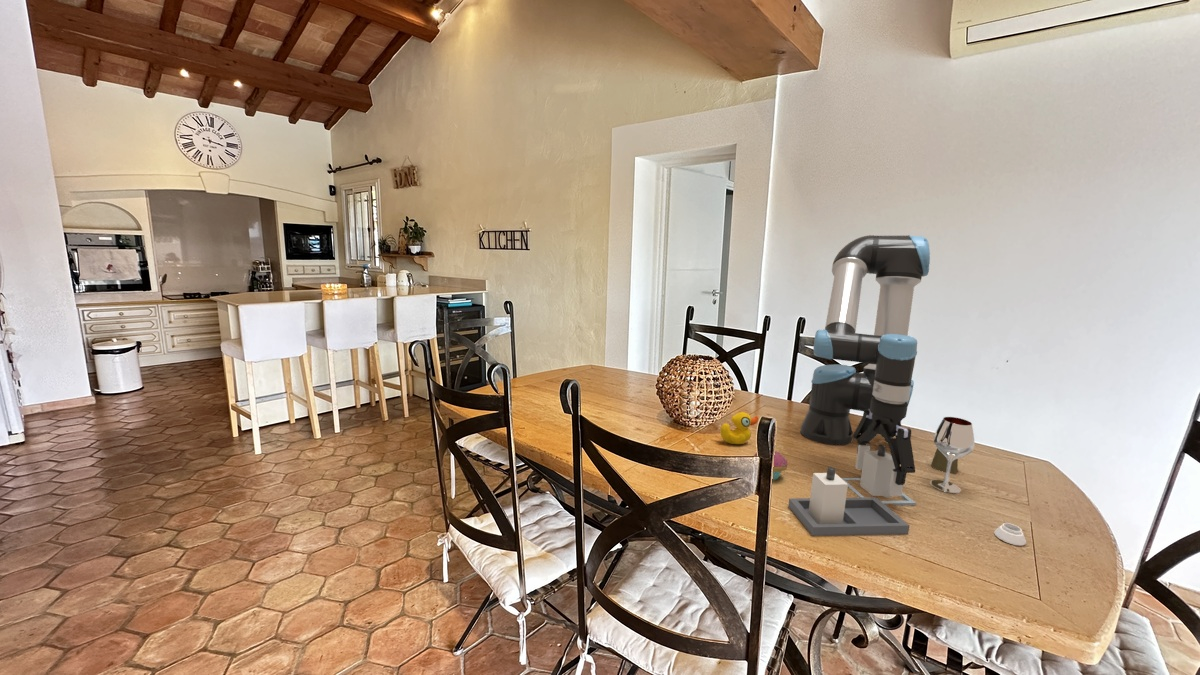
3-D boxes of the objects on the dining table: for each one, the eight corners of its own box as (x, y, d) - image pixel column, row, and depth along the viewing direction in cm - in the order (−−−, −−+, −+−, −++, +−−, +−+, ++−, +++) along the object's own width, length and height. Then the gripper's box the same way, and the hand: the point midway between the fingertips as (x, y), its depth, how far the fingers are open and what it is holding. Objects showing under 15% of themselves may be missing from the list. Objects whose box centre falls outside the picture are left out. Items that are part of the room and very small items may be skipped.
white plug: (808, 513, 104) (814, 463, 102) (829, 513, 105) (836, 462, 102) (819, 526, 99) (826, 474, 97) (842, 526, 100) (849, 474, 97)
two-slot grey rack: (788, 508, 107) (789, 498, 107) (874, 506, 108) (876, 497, 108) (811, 537, 96) (813, 527, 96) (907, 536, 98) (909, 525, 97)
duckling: (752, 439, 145) (755, 409, 143) (759, 446, 140) (762, 415, 138) (717, 439, 144) (719, 409, 142) (722, 447, 139) (725, 416, 137)
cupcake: (757, 466, 127) (761, 425, 125) (789, 475, 122) (794, 433, 120) (747, 478, 120) (751, 436, 118) (781, 489, 116) (785, 444, 113)
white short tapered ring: (1014, 549, 94) (1031, 544, 96) (1017, 536, 94) (1034, 532, 95) (988, 534, 99) (1004, 530, 100) (990, 522, 98) (1007, 518, 100)
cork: (962, 474, 125) (969, 436, 123) (937, 471, 126) (944, 434, 124) (950, 464, 131) (957, 427, 128) (926, 461, 132) (933, 425, 130)
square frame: (838, 480, 120) (838, 478, 120) (882, 479, 121) (882, 477, 121) (867, 505, 109) (867, 503, 109) (915, 505, 109) (916, 502, 109)
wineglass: (970, 498, 113) (984, 429, 109) (931, 491, 116) (943, 424, 112) (958, 482, 120) (970, 417, 117) (921, 476, 123) (932, 413, 120)
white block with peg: (859, 487, 117) (866, 441, 115) (878, 486, 118) (885, 441, 115) (872, 497, 112) (879, 450, 110) (891, 497, 113) (899, 450, 110)
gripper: (845, 383, 122) (835, 458, 126) (911, 418, 98) (896, 509, 102) (872, 383, 122) (861, 458, 126) (944, 418, 98) (928, 508, 103)
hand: (877, 481), depth 114 cm, fingers open, 12 cm apart
